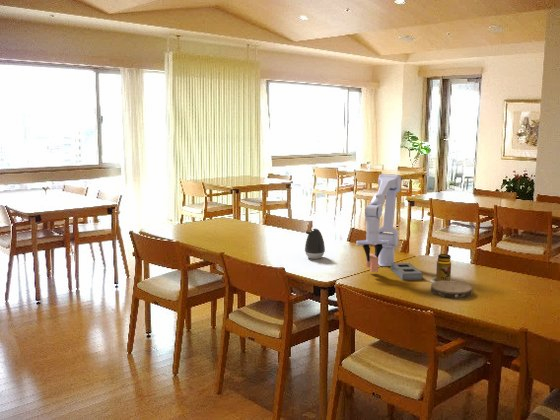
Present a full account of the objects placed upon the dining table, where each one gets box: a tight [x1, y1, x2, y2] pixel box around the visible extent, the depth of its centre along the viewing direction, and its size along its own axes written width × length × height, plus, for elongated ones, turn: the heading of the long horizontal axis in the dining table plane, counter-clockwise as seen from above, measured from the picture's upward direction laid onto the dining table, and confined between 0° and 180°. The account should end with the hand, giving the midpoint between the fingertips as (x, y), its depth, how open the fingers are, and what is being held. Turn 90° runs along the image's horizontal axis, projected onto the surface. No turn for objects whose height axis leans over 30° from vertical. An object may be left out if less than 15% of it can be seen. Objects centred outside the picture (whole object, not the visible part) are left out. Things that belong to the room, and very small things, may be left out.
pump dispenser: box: [304, 228, 326, 260], centre depth 287 cm, size 10×10×15 cm
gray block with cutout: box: [390, 262, 423, 281], centre depth 258 cm, size 18×9×3 cm, turn 5°
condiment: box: [429, 253, 453, 283], centre depth 246 cm, size 7×8×12 cm
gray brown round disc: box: [430, 280, 473, 300], centre depth 231 cm, size 16×16×3 cm
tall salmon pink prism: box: [365, 252, 379, 273], centre depth 255 cm, size 10×3×6 cm, turn 5°
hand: (372, 260), depth 255 cm, fingers closed on tall salmon pink prism, 3 cm apart
